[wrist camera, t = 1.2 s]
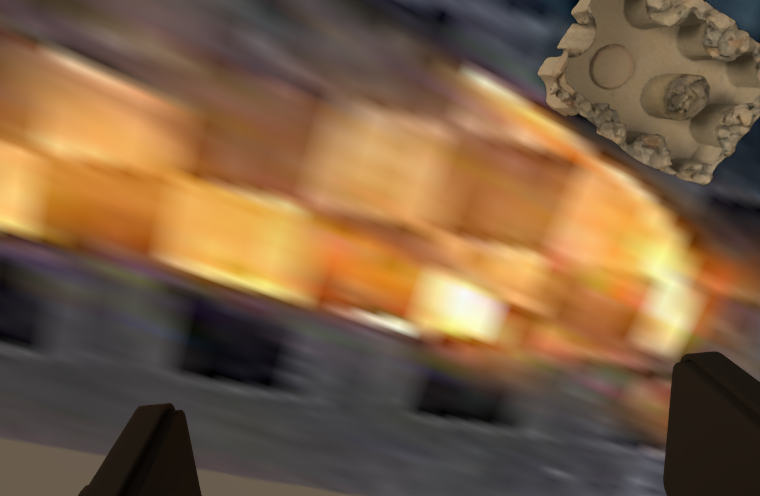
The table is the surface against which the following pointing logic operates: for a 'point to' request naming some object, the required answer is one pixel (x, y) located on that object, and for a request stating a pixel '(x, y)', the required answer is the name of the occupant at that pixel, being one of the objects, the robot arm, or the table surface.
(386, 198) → the table surface
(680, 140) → the tan cratered rock
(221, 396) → the table surface
